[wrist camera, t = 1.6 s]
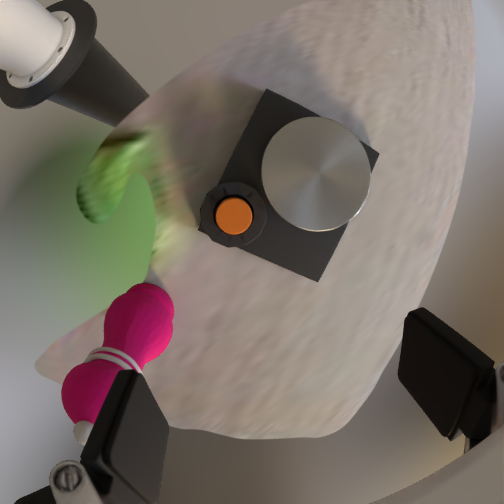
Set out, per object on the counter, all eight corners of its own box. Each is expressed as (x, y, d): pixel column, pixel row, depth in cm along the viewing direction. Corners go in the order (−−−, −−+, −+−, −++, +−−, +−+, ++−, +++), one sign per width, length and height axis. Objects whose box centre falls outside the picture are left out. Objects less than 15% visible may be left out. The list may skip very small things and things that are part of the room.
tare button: (210, 222, 26) (209, 225, 24) (225, 191, 25) (225, 192, 24) (241, 236, 27) (242, 240, 25) (256, 205, 26) (258, 207, 24)
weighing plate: (240, 200, 25) (240, 200, 25) (290, 98, 23) (292, 96, 23) (339, 247, 27) (342, 249, 27) (382, 154, 25) (386, 153, 25)
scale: (194, 226, 29) (190, 231, 26) (259, 90, 26) (263, 81, 23) (314, 278, 31) (322, 288, 28) (373, 154, 28) (387, 152, 25)
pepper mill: (191, 308, 31) (160, 457, 12) (154, 344, 32) (108, 480, 12) (143, 265, 29) (49, 382, 10) (109, 305, 30) (24, 423, 11)
